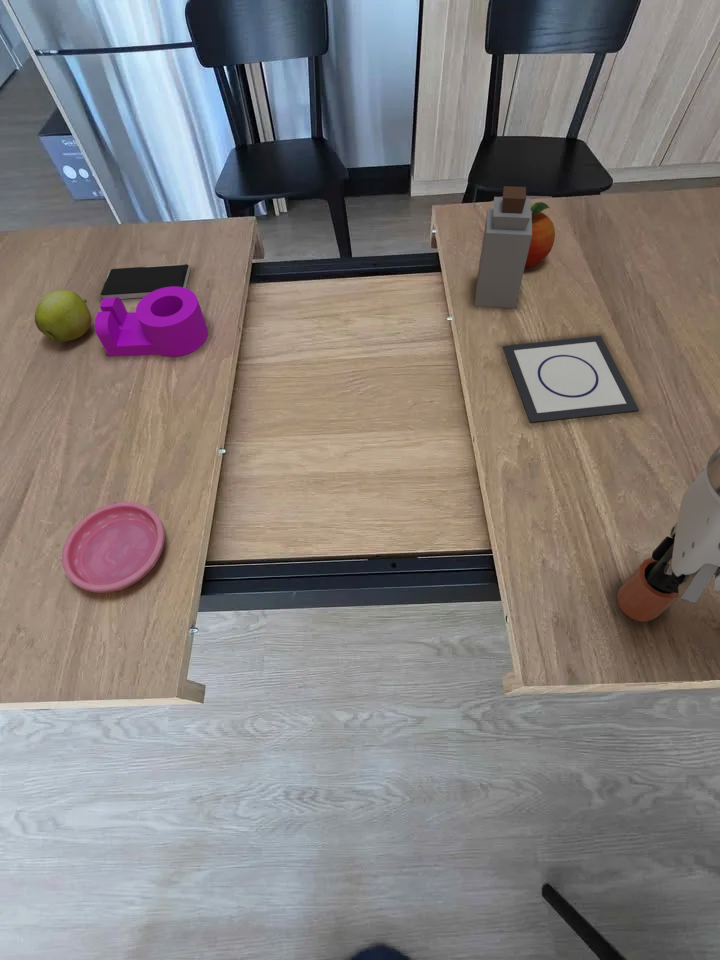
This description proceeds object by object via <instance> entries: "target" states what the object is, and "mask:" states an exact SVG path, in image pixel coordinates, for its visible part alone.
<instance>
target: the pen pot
mask: <svg viewBox="0 0 720 960" xmlns="http://www.w3.org/2000/svg"><path fill="white" fill-rule="evenodd" d="M658 562H659V561H656V560H654V559H653V558H652V556H651V557H648V558H646V559H644V560H643V561H642V562H641V563H640V564H639V566H638V567H637V568H636V569H635V570H634V571H633V573H632V574H631V575H630V576H629V577H628V578H627V579H626V580H625V582H624V583H623V584H622V585H621V587H620V588H618V591H617V593H616V600H617V604H618V607H619V608H620V610H621V612H623V614H625V616H627V617H628V618H630V619H631V620H634V621H637V622H643V623H644V622H646V623H647V622H651V621H653V620H655V619H657V618H658V617H659V616H660V615H661V614H663V613H664V612H665V611H666V610H667V609H668V608H669V607H671V606H672V605H673V604H674V603H675V602H676V601H677V600H679V599H680V598H679V593H675V592H673V593H670V592H666V591H662V592H659V591H657V590H655V589H653V588H652V587H651V586H650V585H649V584H648V583H647V580H646V578H645V576H646V575H647V574H648V573H649V572H650V571H651V570H652V568H653V567H654V566H655V565H656V564H657V563H658Z"/></svg>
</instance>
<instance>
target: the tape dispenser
mask: <svg viewBox="0 0 720 960" xmlns="http://www.w3.org/2000/svg"><path fill="white" fill-rule="evenodd" d="M99 309H100V310H101V311H97V312H96V316H95V318H94V330H95V334H96V336H97V338H98V339H99V342H100V343H101V345H102V347H103V349H104V350H105V352H106V354H107V355H108V357H126V356H127V357H129V356H151V355H152V356H153V355H160V356H162V357H167V358H168V357H169V358H175V357H183V356H187V355H188V354H191V353H193V352H195V351H197V350H198V349H200V348H201V347H202V346H203V345H204V344H205V342H206V341H207V339H208V337H209V329H208V326H207V323H206V319H205V317H204V315H203V311H202V308H201V305H200V303H199V300H198V297H197V295H196V294H195V293H194V291H193V290H191V289H189V288H187V287H186V288H183V287H176V286H172V287H164V288H160V289H157V290H155V291H153V292H151V293H149V294H147V295H146V296H145V297H142V298H141V299H140V300H139V302H138V303H137V305H136V306H135V311H132V312H131V311H130V312H128V311H127V308H126V306H125V304H124V302H123V299H120V298H119V297H112V298H102V300H101V302H100V305H99Z"/></svg>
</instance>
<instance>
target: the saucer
mask: <svg viewBox="0 0 720 960" xmlns="http://www.w3.org/2000/svg"><path fill="white" fill-rule="evenodd" d="M165 541H166V531H165V527H164V524H163V522H162V520H161V518H160V517H159V515H158V514H157V513H156V512H155V511H154V510H153V509H152V508H150V507H149V506H147V505H145V504H143V503H140V502H135V501H118V502H112V503H109V504H106V505H103V506H101V507H99V508H96V509H95V510H93V511H92V512H90V513H88V514H87V515H85V516H84V517H83V518H82V519H81V520H79V522H78V523H76V525H75V526H74V527H73V528H72V529H71V530H70V532H69V534H67V537H66V538H65V541H64V544H63V547H62V552H61V564H62V568H63V571H64V573H65V575H66V577H67V578H68V580H70V581H71V582H72V583H73V584H74V585H75V586H77V587H78V588H80V589H82V590H83V591H87V592H89V593H95V594H109V593H113V592H118V591H121V590H124V589H127V588H129V587H131V586H133V585H134V584H136V583H137V582H139V581H140V580H142V579H143V578H145V576H146V575H148V574H149V573H150V572H151V570H152V569H153V568H154V567H155V566H156V564H157V563H158V561H159V559H160V557H161V556H162V553H163V550H164V547H165Z"/></svg>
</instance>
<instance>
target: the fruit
mask: <svg viewBox="0 0 720 960" xmlns="http://www.w3.org/2000/svg"><path fill="white" fill-rule="evenodd" d="M547 209H551V207H550V206H549V205H548V204H547V203H545V202H543V201H539V202H537V201H536V202H535V203H534V204H532V205H530V210H532V238H531V242H530V246H529V251H528V255H527V259H526V264H525V268H529V267H534V266H536V265H537V264H539V263H540V262H543V261H544V260H545V259H546V257H548V255H549V254H550V253H551V251H552V249H553V247H554V243H555V237H556V231H555V226H554V222H553V221H552V220H551V218H550V217H549V216H548V215H546V214H545V213H544V210H547ZM542 211H543V212H542Z"/></svg>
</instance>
